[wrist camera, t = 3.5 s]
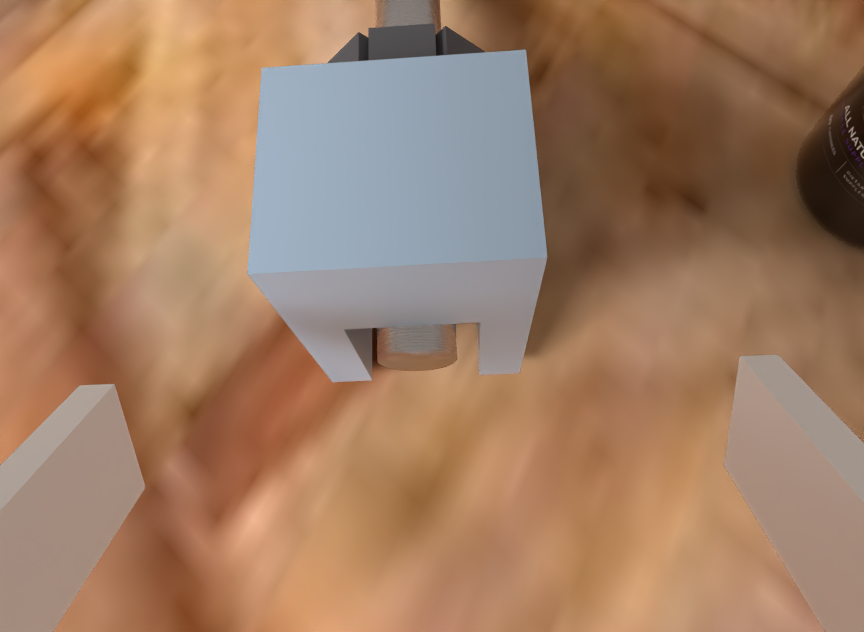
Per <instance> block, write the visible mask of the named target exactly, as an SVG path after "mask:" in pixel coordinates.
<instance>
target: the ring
mask: <svg viewBox="0 0 864 632" xmlns="http://www.w3.org/2000/svg"><path fill="white" fill-rule="evenodd" d="M469 53H484V51H483V50H481V49H480V48H478V47H477V46H475V45H474V44H472V43H471V42H469V41H468V40H466V39H465V38H463V37H462V36H460V35H459V34H457V33H456V32H454V31H452V30H451V29H449V28H448V27H446V26H445V27H444V28H443V29H442V30H440V31H439V32H438V33H437V34H435V23H433V24H419V25H405V26H391V27H377V28H369V38H368V37H366V36H364V35H363V34H361V33H359V32H358V33H357V34H356V35H355V36H354V37H353V38H352V39H351V40H350V41H349V42H348V43H347V44H346V45H345V46H344V47H343V48H342V49H341V50H340V51H339V52H338V53H337V54H336V55H335V56H334V57H333V58H332V59H331V60H330V61H329V62H328V63H340V62H354V61H368V60H383V59H397V58H412V57H426V56H441V55H455V54H469Z"/></svg>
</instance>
